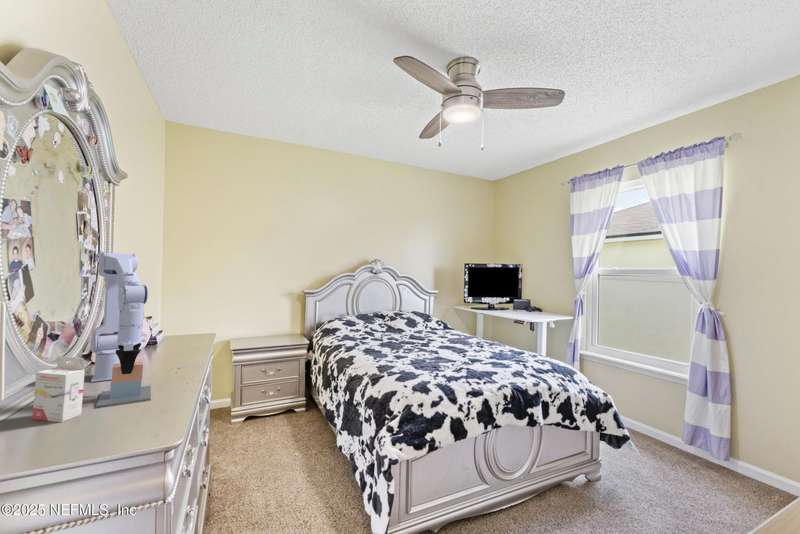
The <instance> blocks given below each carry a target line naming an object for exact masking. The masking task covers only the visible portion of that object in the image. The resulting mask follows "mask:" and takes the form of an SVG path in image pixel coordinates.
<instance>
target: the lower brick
mask: <svg viewBox="0 0 800 534" xmlns="http://www.w3.org/2000/svg"><path fill="white" fill-rule="evenodd" d="M141 387H142V380H135V381H126V382H117V383H111V382H110V387H109V388H110V389H109V391H110V399H115V398H122V397H130V396H137V395H140V393H141Z"/></svg>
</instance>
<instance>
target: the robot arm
mask: <svg viewBox="0 0 800 534" xmlns="http://www.w3.org/2000/svg"><path fill="white" fill-rule="evenodd" d="M98 257H99V258H98V269H97V270H98V276H101V277H103V278H104V281H105V296H104V310H103V324H101V325H99V326H98V327H96V328H95V329H93V331H92V332H91V337H90V344H89V346H90V352H92V353H93V354H95V359H94V369H93V370H94V371H93V376H92V378H91V380H90V382H92V383H95V382H103V381H105V382H106V381H112V369H113V365H114V364H120V365H121V372H122V374H131V373H132V370H133V367H134V363H135V362H136V360H137V357H138V356H139V354H140V352H141V350H142V349H141V346H142V343H144V342H145V343H146V342H147V338H143V337H142V336H143V325H144V312H145V311H144V310H145V305H146V303H147V301H148V297H149V291H148V287H147V285H146V284H142V283H141V280H140V277H139V275H138V273H136V270H137V269H138V265H139V259H138V255H137V254H136V253H122V252H121V253H120V252H107V251H102V252H100V254H99V256H98Z"/></svg>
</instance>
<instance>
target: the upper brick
mask: <svg viewBox="0 0 800 534" xmlns="http://www.w3.org/2000/svg"><path fill="white" fill-rule="evenodd" d="M143 371H144V361H135V363H134V367H133V370H132V373H131V374H122V372H121V365H120V364H114V365H113V369H112V380H111V382H110V384H111V383H117V382H126V381H135V380H141V381H142V380H143Z"/></svg>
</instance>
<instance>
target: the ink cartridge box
mask: <svg viewBox="0 0 800 534" xmlns="http://www.w3.org/2000/svg"><path fill="white" fill-rule="evenodd" d="M70 361H71V362H74V363H67V362H70ZM85 370H86V369H85V358H83V357H76V356H75V357H74V356H62V355H61V356H60V355H57V357H56V367H54V368H50V369H49V368H48V369H45V370H41V371H36V373H35V385H34V397H33V407H32V408H33V409H32V418H31V419H32V420H36V421H44V422H45V421H46V422H53V423H54V422H55V423H63V422H67V421H69V420H71V419H74V418H76V417H79V416H82V409H83V397H84V385H85V383H84V382H85V375H86V374H85Z"/></svg>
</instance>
